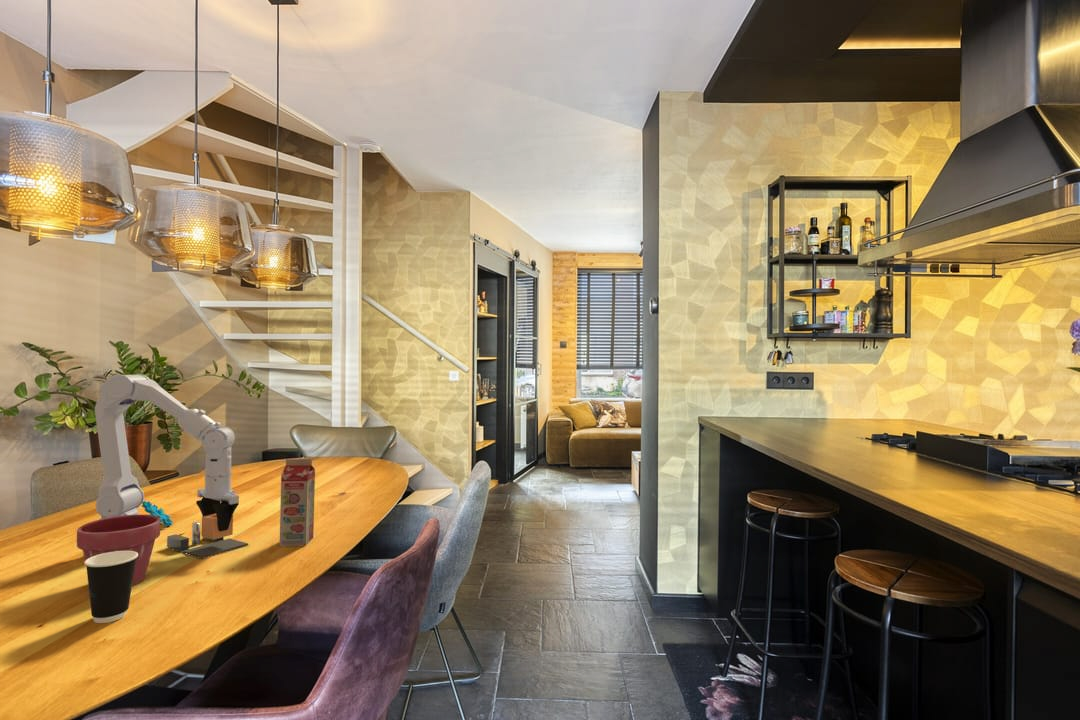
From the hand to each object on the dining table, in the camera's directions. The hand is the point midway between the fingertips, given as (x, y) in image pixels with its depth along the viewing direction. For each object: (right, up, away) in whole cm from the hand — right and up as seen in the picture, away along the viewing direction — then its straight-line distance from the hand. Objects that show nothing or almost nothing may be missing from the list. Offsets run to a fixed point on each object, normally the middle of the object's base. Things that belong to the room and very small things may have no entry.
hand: (216, 528), depth 141 cm
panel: (0, -5, 0) cm, 5 cm away
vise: (-7, -5, +3) cm, 10 cm away
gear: (-28, -5, +19) cm, 34 cm away
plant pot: (-8, -5, -23) cm, 24 cm away
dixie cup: (+3, -5, -39) cm, 39 cm away
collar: (0, -2, 0) cm, 2 cm away
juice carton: (+17, -6, +7) cm, 20 cm away
